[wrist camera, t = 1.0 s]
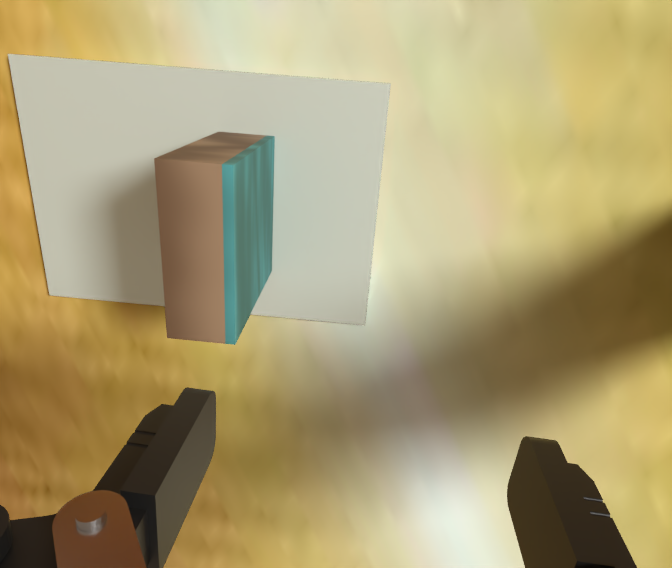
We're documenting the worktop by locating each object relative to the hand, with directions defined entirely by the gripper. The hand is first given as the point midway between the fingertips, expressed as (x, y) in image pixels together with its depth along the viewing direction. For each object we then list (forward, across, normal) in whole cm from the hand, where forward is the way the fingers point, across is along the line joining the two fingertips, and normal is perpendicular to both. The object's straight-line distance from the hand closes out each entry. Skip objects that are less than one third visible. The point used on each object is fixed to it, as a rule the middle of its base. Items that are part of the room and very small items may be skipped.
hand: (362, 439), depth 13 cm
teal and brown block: (+21, +8, 0) cm, 23 cm away
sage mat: (+22, +12, 0) cm, 24 cm away
